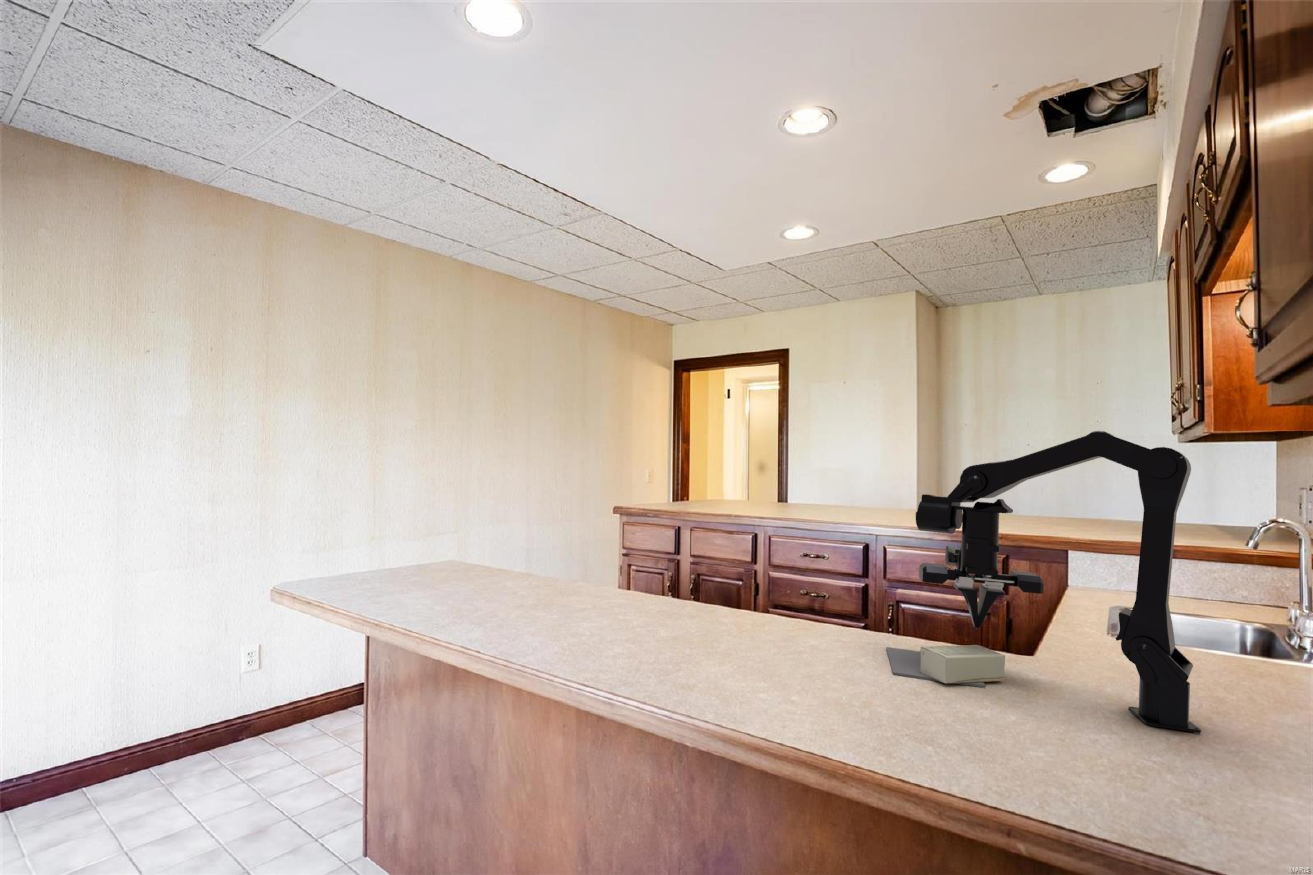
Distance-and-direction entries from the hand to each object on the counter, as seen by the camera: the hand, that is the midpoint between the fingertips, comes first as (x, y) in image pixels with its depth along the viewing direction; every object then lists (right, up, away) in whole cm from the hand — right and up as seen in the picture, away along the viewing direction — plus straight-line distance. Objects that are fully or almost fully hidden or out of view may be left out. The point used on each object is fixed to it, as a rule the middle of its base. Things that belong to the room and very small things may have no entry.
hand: (976, 627), depth 110 cm
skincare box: (+2, -5, -2) cm, 6 cm away
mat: (-7, -7, +2) cm, 10 cm away
